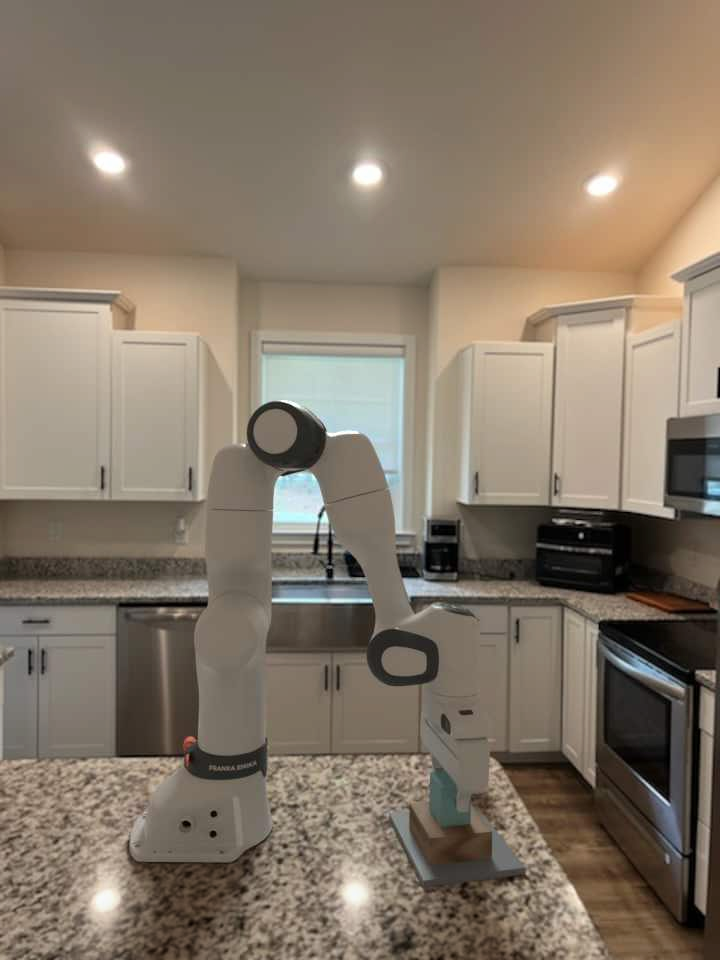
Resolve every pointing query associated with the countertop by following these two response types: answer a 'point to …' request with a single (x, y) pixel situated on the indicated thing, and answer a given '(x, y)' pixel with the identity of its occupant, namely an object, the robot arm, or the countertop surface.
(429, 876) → the slate board
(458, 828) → the walnut pedestal
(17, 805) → the countertop surface
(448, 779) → the teal block
